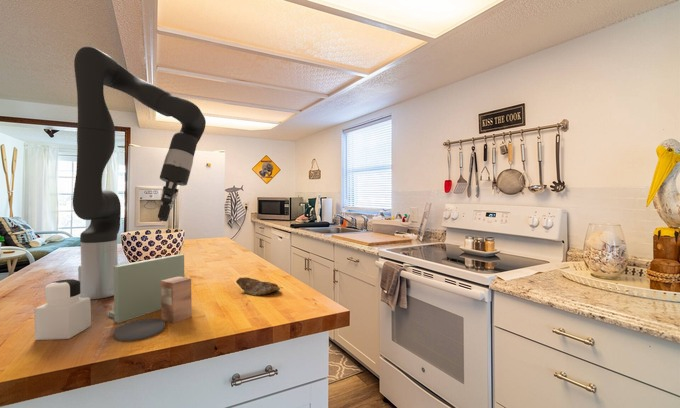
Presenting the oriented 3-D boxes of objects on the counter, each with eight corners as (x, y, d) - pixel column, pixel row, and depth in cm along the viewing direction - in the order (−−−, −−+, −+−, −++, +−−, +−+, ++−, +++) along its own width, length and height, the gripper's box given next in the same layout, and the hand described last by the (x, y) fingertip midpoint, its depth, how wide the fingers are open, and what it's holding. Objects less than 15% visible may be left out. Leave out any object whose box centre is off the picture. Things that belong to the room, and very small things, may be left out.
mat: (102, 339, 70) (102, 334, 70) (137, 321, 80) (137, 317, 80) (143, 342, 68) (143, 338, 68) (174, 323, 78) (174, 319, 78)
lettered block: (160, 319, 81) (159, 280, 80) (179, 313, 85) (178, 276, 85) (172, 323, 78) (172, 283, 78) (191, 316, 83) (191, 278, 83)
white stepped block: (60, 327, 76) (58, 277, 76) (91, 326, 77) (90, 276, 76) (34, 340, 69) (32, 286, 69) (69, 339, 70) (67, 285, 69)
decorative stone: (249, 271, 111) (287, 280, 107) (247, 283, 112) (285, 292, 107) (231, 277, 102) (272, 287, 98) (230, 291, 103) (271, 301, 98)
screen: (118, 323, 79) (117, 267, 78) (104, 317, 82) (102, 263, 81) (184, 301, 94) (184, 254, 94) (170, 297, 98) (169, 252, 97)
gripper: (164, 169, 100) (149, 219, 97) (162, 157, 88) (145, 214, 84) (189, 175, 103) (176, 224, 100) (191, 165, 91) (176, 220, 87)
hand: (162, 219), depth 92 cm, fingers open, 8 cm apart
